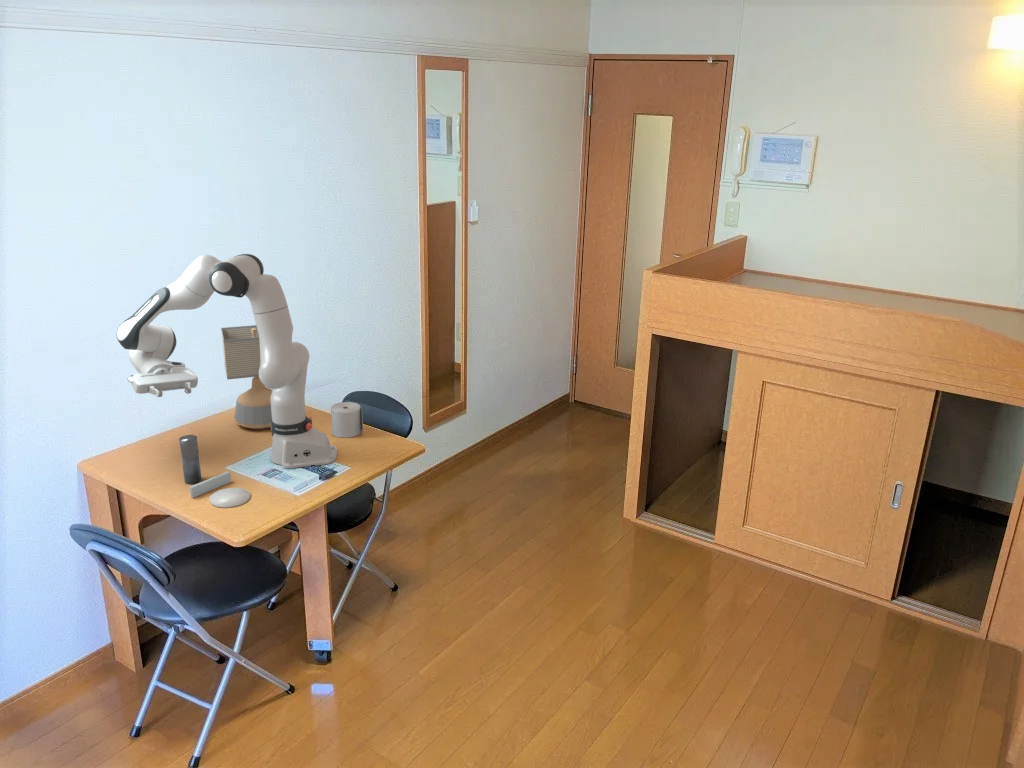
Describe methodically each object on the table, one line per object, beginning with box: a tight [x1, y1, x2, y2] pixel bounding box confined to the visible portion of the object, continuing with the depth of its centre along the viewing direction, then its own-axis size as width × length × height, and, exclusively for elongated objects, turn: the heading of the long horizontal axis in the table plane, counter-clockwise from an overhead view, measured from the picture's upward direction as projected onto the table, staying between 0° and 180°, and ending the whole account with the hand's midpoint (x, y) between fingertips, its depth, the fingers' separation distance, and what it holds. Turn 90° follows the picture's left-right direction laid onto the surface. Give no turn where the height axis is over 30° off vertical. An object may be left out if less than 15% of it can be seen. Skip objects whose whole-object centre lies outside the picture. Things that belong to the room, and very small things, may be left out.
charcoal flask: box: [178, 434, 203, 485], centre depth 266 cm, size 5×5×15 cm
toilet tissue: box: [330, 401, 364, 439], centre depth 306 cm, size 11×12×10 cm
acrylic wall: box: [189, 471, 232, 499], centre depth 263 cm, size 14×1×4 cm, turn 144°
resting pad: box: [208, 487, 251, 509], centre depth 258 cm, size 12×12×1 cm
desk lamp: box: [220, 324, 273, 430], centre depth 308 cm, size 22×19×37 cm
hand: (174, 393), depth 269 cm, fingers open, 8 cm apart
